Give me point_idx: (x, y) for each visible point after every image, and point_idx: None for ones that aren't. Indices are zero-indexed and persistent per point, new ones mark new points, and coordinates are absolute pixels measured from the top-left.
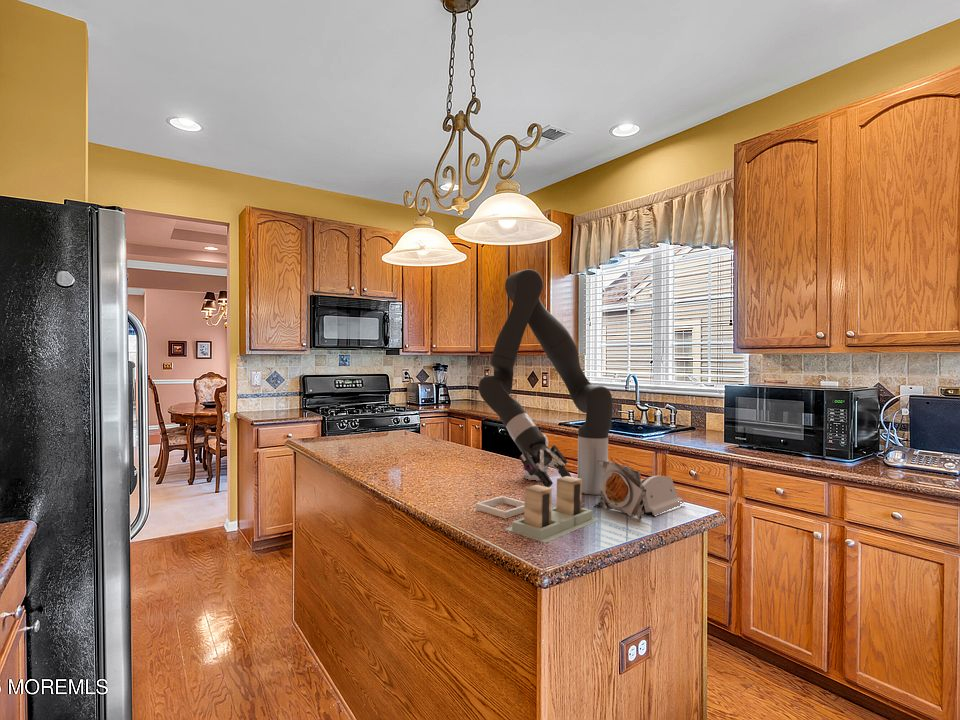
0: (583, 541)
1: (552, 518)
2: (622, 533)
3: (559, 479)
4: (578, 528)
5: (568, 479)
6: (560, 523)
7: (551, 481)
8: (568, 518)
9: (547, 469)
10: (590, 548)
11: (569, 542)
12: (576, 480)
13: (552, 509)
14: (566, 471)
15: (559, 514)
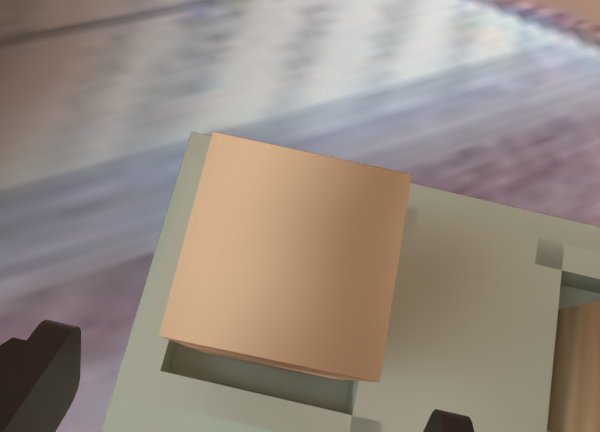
0: (518, 132)
1: (517, 325)
2: (288, 6)
3: (383, 344)
4: (424, 187)
5: (324, 250)
6: (563, 245)
7: (450, 423)
8: (449, 235)
9: None
10: (579, 79)
11: (577, 186)
12: (318, 157)
13: (332, 412)
14: (24, 390)
15: (411, 318)
